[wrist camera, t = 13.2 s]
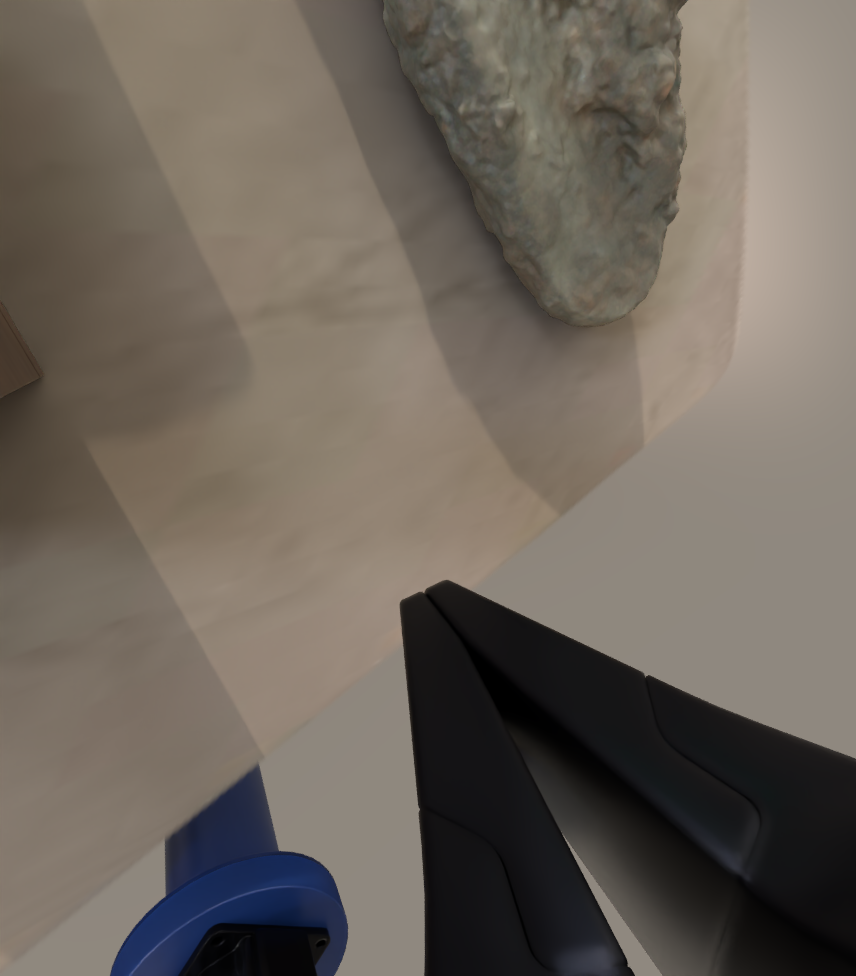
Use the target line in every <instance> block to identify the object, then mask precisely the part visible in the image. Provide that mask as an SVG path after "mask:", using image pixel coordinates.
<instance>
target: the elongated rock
mask: <svg viewBox="0 0 856 976" xmlns="http://www.w3.org/2000/svg"><path fill="white" fill-rule="evenodd" d="M687 1H688V0H383V3H384V12H383V20H384V23H385V26H386V29H387V32H388V34H389V37H390V39H391V42H392V44H393V45H394V47H395V48H397V49H398V54H399V58H400V64H401V67H402V70H403V73H404V74H405V76H406V77H407V78H408V79H409V80H410V82H411V83H412V84H413V86H414V88H415V89H416V91H417V93H418V96H419V99H420V101H421V102H422V104H423V106H424V107H425V109H426V111H427V112H428V113H429V114H430V115H432V116H434V117H435V120H436V123H437V125H438V127H439V130H440V132H441V133H442V134H443V136H444V137H445V141H446V143H447V146H448V149H449V152H450V154H451V157H452V159H453V161H454V162H455V163H456V164H457V166H458V168H459V170H460V172H461V173H462V174H463V175H464V177H465V178H466V180H467V182H468V184H469V186H470V190H471V193H472V194H473V200H474V204H475V206H476V209H477V212H478V215H479V216H480V217H481V218H482V219H483V221H484V224H485V227H486V229H487V231H488V232H492V233H495V235H496V236H497V238H498V240H499V241H500V243H501V245H502V247H503V257H504V259H505V260H506V262H507V263H509V264H510V265H511V267H512V268H513V270H514V272H515V273H516V274H517V276H518V278H519V279H520V281H521V283H522V284H523V285H525V286H526V288H527V289H528V290H529V291H530V292H531V293H532V294H533V296H534V297H535V298H536V300H537V303H538V305H540V307H541V308H542V309H543V310H545V311H546V312H548V314H549V316H551V317H555V318H559V319H560V320H562V321H564V322H565V323H567V324H569V325H574V326H584V327H588V326H589V327H592V326H603V325H605V324H608V323H610V322H613V321H615V320H618V319H620V318H623V317H624V316H625V315H626V314H628V313H629V312H630V311H632V310H633V309H635V307H636V306H637V305H638V304H639V303H640V302H641V301H643V300H644V299H645V298H646V296H647V294H648V292H649V290H650V288H651V286H652V285H653V283H654V281H655V279H656V276H657V272H658V269H659V265H660V259H661V255H662V251H663V241H664V238H665V234H666V230H667V226H668V225H669V224H670V223H671V222H672V221H673V219H674V218H675V216H676V214H677V213H678V211H679V205H678V203H677V201H676V196H677V190H678V185H679V182H680V180H681V175H680V171H679V169H680V164H681V163H682V159H683V155H684V152H685V150H686V147H687V141H686V134H685V131H686V116H685V110H684V109H683V107H682V105H681V100H680V97H679V89H680V83H681V73H680V70H681V65H680V61H679V56H680V46H679V45H680V39H681V31H682V28H683V27H682V23H681V21H680V19H679V18H678V16H677V13H678V11H679V10H680V9H681V7H682V6H683V5H684V4H685V3H686V2H687Z"/></svg>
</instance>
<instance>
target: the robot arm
mask: <svg viewBox="0 0 856 976" xmlns="http://www.w3.org/2000/svg"><path fill="white" fill-rule="evenodd" d="M400 615H401V626H402V637H403V647H404V658H405V669H406V679H407V690H408V701H409V711H410V722H411V732H412V742H413V755H414V765H415V776H416V787H417V797H418V806H419V808H420V811H419V823H420V833H421V843H422V860H423V875H424V892H425V973H424V976H635V975H634V973H633V971H632V969H631V968H630V967H628V965H627V964H628V963H627V959H626V957H625V955H624V953H623V951H622V949H621V947H620V945H619V943H618V941H617V939H616V938H615V936H614V934H613V932H612V930H611V928H610V926H609V924H608V922H607V920H606V918H605V916H604V914H603V912H602V910H601V908H600V906H599V905H598V903H597V901H596V899H595V897H594V895H593V893H592V891H591V889H590V887H589V885H588V883H587V881H586V879H585V878H584V875H583V873H582V872H581V870H580V868H579V866H578V864H577V862H576V860H575V858H574V856H573V854H572V852H571V851H570V848H569V846H568V844H567V842H566V841H565V839H564V837H563V835H564V836H565V838H566V839H567V841H568V842H569V843H570V845H571V846H572V848H573V849H574V851H575V852H576V853H577V855H578V856H579V858H580V859H581V860H582V862H583V863H584V865H585V866H586V868H587V869H588V870H589V872H590V873H591V875H592V876H593V877H594V879H595V880H596V882H597V883H598V884H599V886H600V887H601V889H602V890H603V892H604V893H605V894H606V896H607V897H608V899H609V900H610V901H611V903H612V904H613V906H614V907H615V909H616V910H617V911H618V913H619V914H620V916H621V917H622V919H623V920H624V921H625V923H626V924H627V926H628V927H629V928H630V930H631V931H632V933H633V934H634V935H635V937H636V938H637V940H638V941H639V942H640V944H641V945H642V947H643V948H644V950H645V951H646V952H647V954H648V955H649V957H650V958H651V959H652V961H653V962H654V964H655V965H656V967H657V968H658V969H659V971H660V972H661V974H662V975H663V976H856V759H855V758H852V757H850V756H847V755H844V754H842V753H839V752H836V751H833V750H831V749H828V748H825V747H823V746H820V745H817V744H814V743H812V742H809V741H807V740H804V739H801V738H798V737H796V736H793V735H790V734H788V733H785V732H782V731H779V730H777V729H774V728H772V727H769V726H766V725H763V724H761V723H758V722H756V721H753V720H751V719H748V718H746V717H743V716H741V715H738V714H735V713H733V712H731V711H728V710H725V709H723V708H720V707H718V706H715V705H713V704H711V703H709V702H707V701H704V700H702V699H700V698H698V697H695V696H693V695H691V694H689V693H686V692H684V691H682V690H680V689H677V688H675V687H673V686H671V685H669V684H667V683H665V682H663V681H660V680H658V679H656V678H654V677H652V676H650V675H648V676H646V678H645V675H644V673H643V672H641V671H639V670H637V669H635V668H633V667H631V666H628V665H626V664H624V663H622V662H620V661H618V660H616V659H614V658H611V657H609V656H607V655H605V654H603V653H601V652H599V651H597V650H595V649H593V648H590V647H588V646H586V645H584V644H582V643H580V642H578V641H576V640H574V639H571V638H569V637H567V636H565V635H563V634H561V633H559V632H557V631H555V630H553V629H550V628H548V627H546V626H544V625H542V624H540V623H538V622H536V621H533V620H531V619H529V618H527V617H525V616H523V615H521V614H519V613H517V612H515V611H513V610H510V609H508V608H506V607H504V606H502V605H500V604H498V603H496V602H494V601H492V600H489V599H487V598H485V597H483V596H481V595H479V594H477V593H475V592H473V591H470V590H468V589H466V588H464V587H462V586H460V585H458V584H456V583H454V582H452V581H449V580H444V581H441V582H439V583H437V584H435V585H433V586H431V587H429V588H427V589H426V590H425V592H424V593H423V592H418V593H416V594H414V595H412V596H410V597H408V598H405V599H403V600H402V601H401V602H400ZM561 832H562V833H561ZM562 834H563V835H562ZM329 943H330V935H329V931H328V929H327V928H323V927H301V926H280V925H258V924H236V923H218V924H216V925H213V926H212V927H211V928H209V929H208V931H207V932H206V933H205V935H204V936H203V938H202V939H201V941H200V942H199V944H198V945H197V947H196V949H195V950H194V952H193V953H192V955H191V956H190V958H189V959H188V961H187V962H186V964H185V966H184V967H183V969H182V970H181V972H180V973H179V975H178V976H318V975H317V971H316V967H315V965H316V964H317V962H318V961H319V959H320V958H321V956H322V954H323V953H324V951H325V950H326V948H327V947H328V945H329Z"/></svg>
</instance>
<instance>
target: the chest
mask: <svg viewBox="0 0 856 976" xmlns="http://www.w3.org/2000/svg"><path fill="white" fill-rule="evenodd" d="M43 376H44V373H43V371H42V370H41V368H40V366H39V365H38V363H37V361H36V360H35V358H34V356H33V355H32V353H31V351H30V350H29V348H28V346H27V344H26V343H25V341H24V339H23V338H22V336H21V334H20V333H19V331H18V329H17V328H16V326H15V324H14V323H13V321H12V319H11V318H10V316H9V314H8V312H7V311H6V309H5V307H4V306H3V304H2V302H1V301H0V398H2V397H4V396H6V395H8V394H10V393H12V392H14V391H16V390H18V389H19V388H21V387H23V386H25V385H27V384H29V383H31V382H33V381H35V380H37V379H39V378H41V377H43Z"/></svg>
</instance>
